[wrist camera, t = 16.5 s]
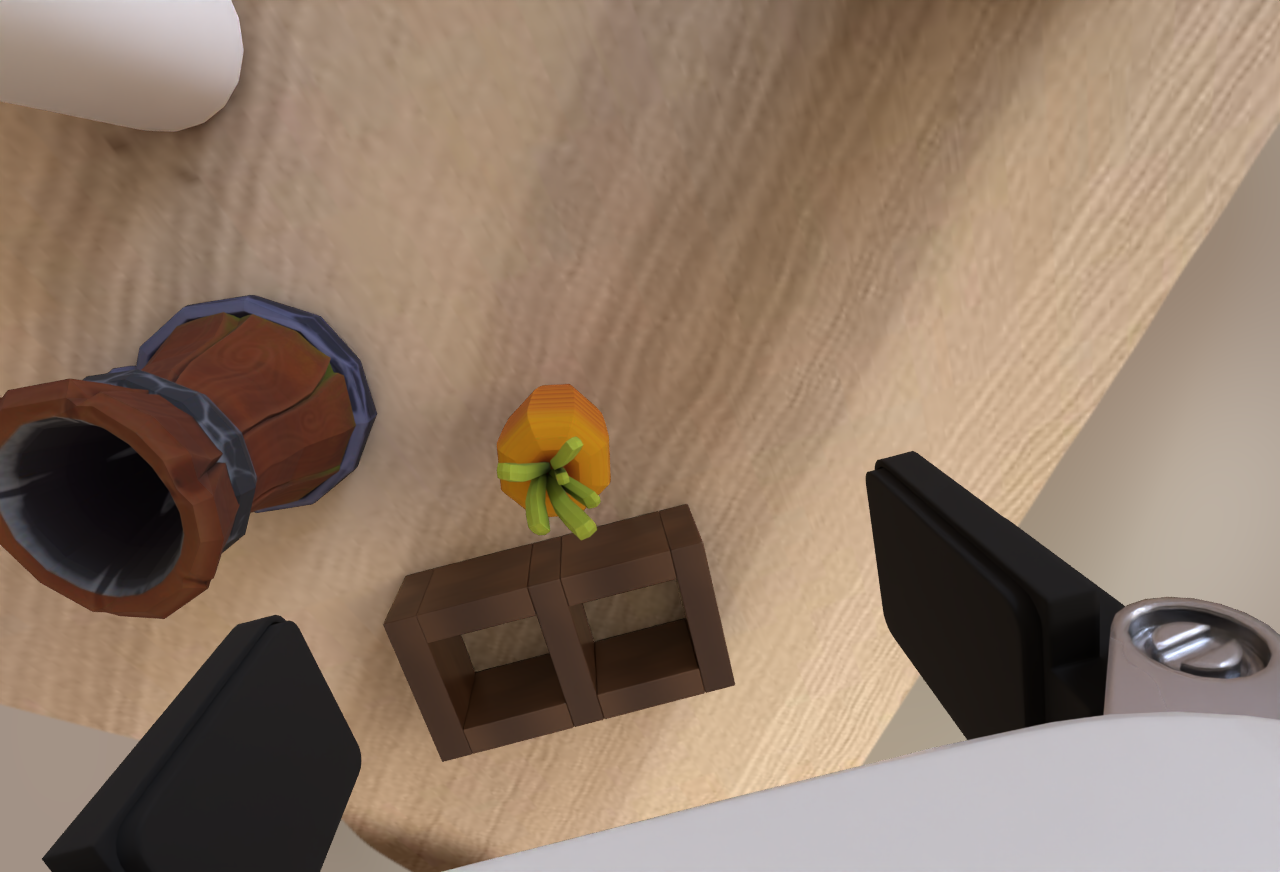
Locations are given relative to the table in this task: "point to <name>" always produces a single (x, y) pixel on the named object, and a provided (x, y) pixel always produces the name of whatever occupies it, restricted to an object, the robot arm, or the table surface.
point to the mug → (177, 452)
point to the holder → (558, 634)
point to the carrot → (555, 458)
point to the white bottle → (121, 59)
